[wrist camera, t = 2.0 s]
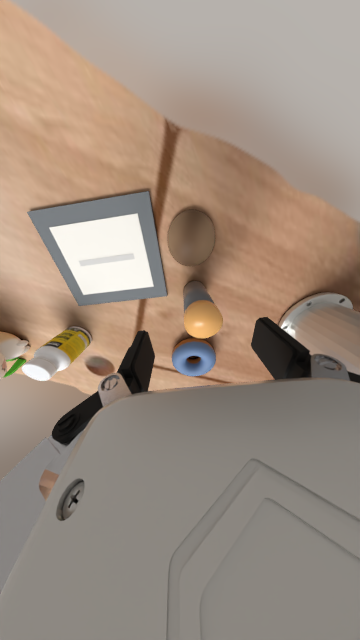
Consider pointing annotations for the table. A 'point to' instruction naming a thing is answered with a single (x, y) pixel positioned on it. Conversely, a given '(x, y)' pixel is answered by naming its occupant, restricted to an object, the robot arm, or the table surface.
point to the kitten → (11, 352)
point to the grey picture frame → (105, 248)
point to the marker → (200, 311)
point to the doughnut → (193, 349)
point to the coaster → (191, 238)
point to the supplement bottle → (57, 353)
